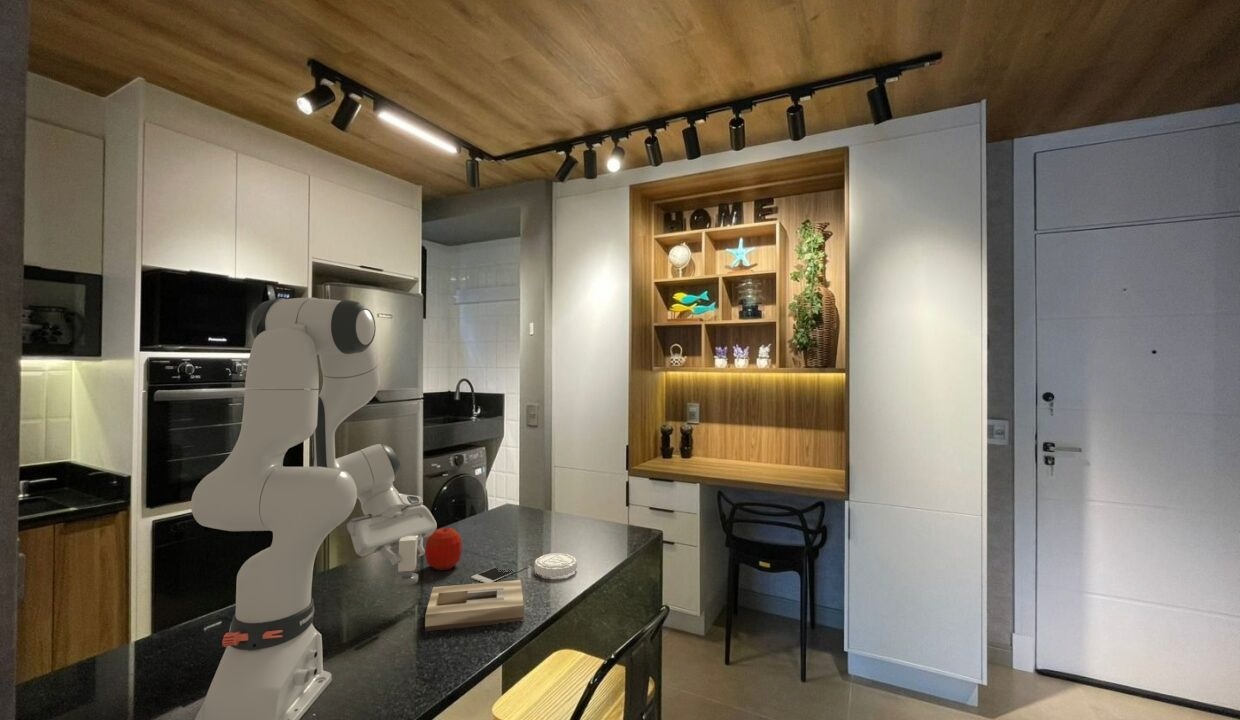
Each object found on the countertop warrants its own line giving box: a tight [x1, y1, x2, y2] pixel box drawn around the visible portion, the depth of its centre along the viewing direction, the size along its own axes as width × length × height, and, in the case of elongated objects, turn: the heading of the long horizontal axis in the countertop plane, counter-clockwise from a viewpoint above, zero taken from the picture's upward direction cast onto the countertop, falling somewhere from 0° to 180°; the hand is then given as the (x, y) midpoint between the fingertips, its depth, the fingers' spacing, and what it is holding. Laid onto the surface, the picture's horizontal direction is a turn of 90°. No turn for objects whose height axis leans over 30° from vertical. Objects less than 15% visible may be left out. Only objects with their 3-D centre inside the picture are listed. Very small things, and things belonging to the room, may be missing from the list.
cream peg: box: [395, 535, 419, 587], centre depth 119 cm, size 5×5×10 cm
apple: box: [424, 526, 463, 571], centre depth 144 cm, size 10×10×12 cm
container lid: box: [533, 552, 578, 577], centre depth 143 cm, size 12×12×4 cm
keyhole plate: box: [424, 579, 525, 632], centre depth 118 cm, size 14×21×4 cm, turn 104°
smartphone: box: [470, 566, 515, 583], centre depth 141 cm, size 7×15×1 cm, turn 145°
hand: (409, 558), depth 119 cm, fingers closed on cream peg, 5 cm apart
